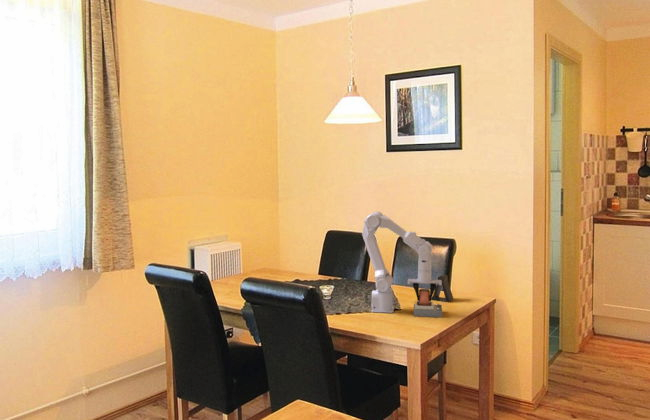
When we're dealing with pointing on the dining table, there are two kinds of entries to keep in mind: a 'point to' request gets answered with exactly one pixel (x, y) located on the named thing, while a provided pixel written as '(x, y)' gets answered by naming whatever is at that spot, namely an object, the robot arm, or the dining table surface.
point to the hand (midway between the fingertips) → (424, 300)
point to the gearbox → (427, 310)
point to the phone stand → (445, 288)
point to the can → (424, 297)
